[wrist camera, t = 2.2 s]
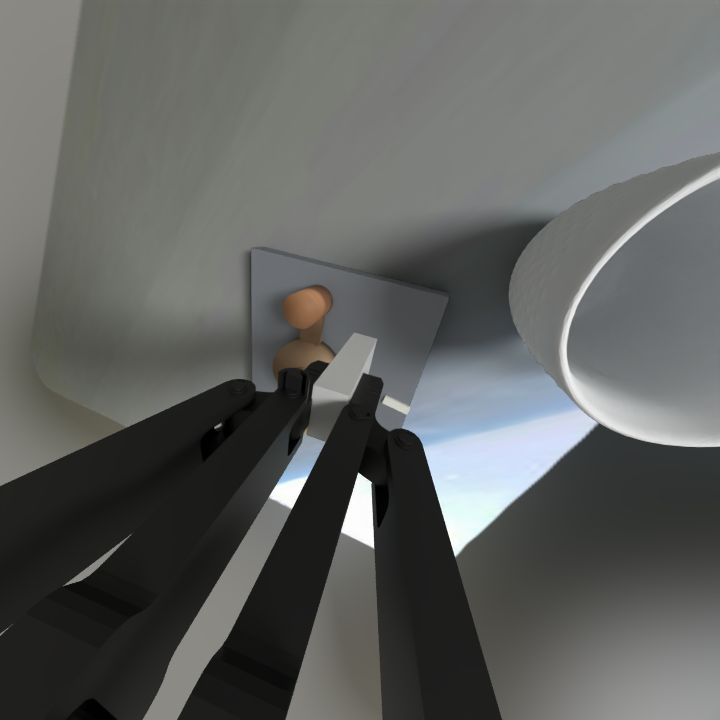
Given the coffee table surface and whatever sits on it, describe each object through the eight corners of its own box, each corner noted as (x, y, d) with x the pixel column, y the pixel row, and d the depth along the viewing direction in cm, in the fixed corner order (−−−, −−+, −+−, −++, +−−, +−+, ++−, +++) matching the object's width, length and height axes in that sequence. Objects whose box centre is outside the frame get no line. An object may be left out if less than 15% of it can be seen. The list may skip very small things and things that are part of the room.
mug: (729, 299, 18) (1230, 403, 7) (576, 389, 24) (717, 534, 12) (589, 151, 17) (932, -28, 5) (459, 283, 22) (493, 334, 11)
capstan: (287, 276, 23) (262, 283, 19) (354, 293, 22) (340, 304, 19) (278, 419, 31) (260, 442, 28) (328, 435, 30) (315, 461, 27)
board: (263, 246, 25) (249, 247, 23) (449, 293, 23) (451, 298, 20) (261, 406, 34) (250, 417, 32) (392, 449, 32) (389, 464, 30)
